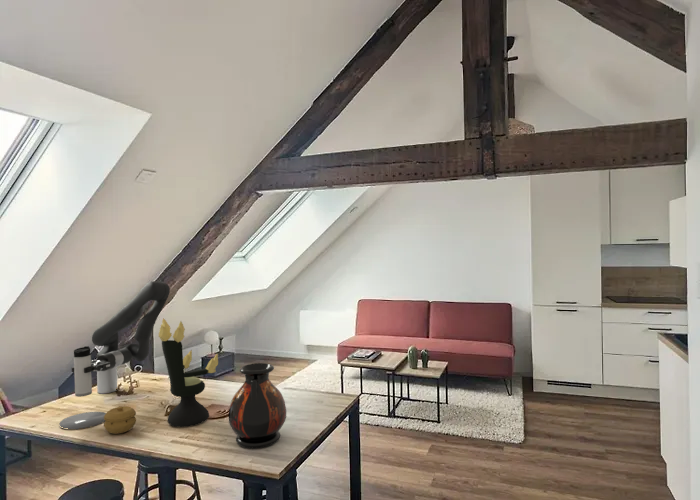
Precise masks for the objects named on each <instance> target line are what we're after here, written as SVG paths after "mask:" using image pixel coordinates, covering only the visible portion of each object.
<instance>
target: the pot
mask: <svg viewBox="0 0 700 500" xmlns="http://www.w3.org/2000/svg"><path fill="white" fill-rule="evenodd" d="M105 413H106V414H105V416H104V420H105V421H104V422H103V423H104V424H103V427H104V428H105V430H106V431H107V432H108V433H110V434H113V435H114V434H115V435H117V434H123V433H126V432H128V431H130V430H131V429H132V428H133V427H134V426H135V424H136V423H137V417H136V415H137V412H136V410H135V408H133V407H131V406H129V405H128V406H125V405H124V406H118V407H113V408H111V409H109V410H108V411H107V412H105Z"/></svg>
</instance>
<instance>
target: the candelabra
mask: <svg viewBox="0 0 700 500" xmlns="http://www.w3.org/2000/svg"><path fill="white" fill-rule="evenodd" d="M161 322H162V323H161V325H160V327H159V332H158V338H159V339H160V341H161V347H162V352H163V357H164V361H165V365H166V369H167V373H168V377H169V383H170V389H169V390H170V393H171V394H172V395H173V396H174V397H179V398H180V401H179V403H178V404H177V405H176V406H175V407H174V408H173V409H172V411H171V410H170V412H169V415H167V421H166V422H167V423H168V425H170V426H171V427H175V428H187V427H188V428H189V427H193V426H197V425H200V424H202V423H205V422H206V421H207V420H208V418H209V417H210V412H209V411H208V410H209V409H207V407H206V406H204V405H203V404H201V402H199V401H197V398H196V395H199V394H201V393H202V392H204V390H205V389H206V384H205V382H204V381H203V380H202V379H201V378H199V376H205V375H208V374H214V373H216V372H217V371H216V369H217V366H218V365H219V358H218V357H219V355H218V353H216V354H215V356H214V357H212V358H211V359H210V360H209V361H208V362H207V365H206V367H205V368H201V369H197V370H196V369H195V370H191V371H186V372H185V370H186V369H189V368H190V365H191V364H190V363H191V362H192V359H193V357H192V355H193V351H192V349H191V350H189V352H188V353H187V354H186V355H185V356H184V357H183V353H184V352H183V343H182V341H183V340H184V338H185V335H184V333H185V330H186V329H185V326H184V324H183V322H182V320H180V322H179V324H178V326H177V327H176V329H175V330H174V333H173V334H172V332H171V326H170V325H169V323H168V322H167V320H166V318H162V321H161ZM171 337H172V338H173V340H171Z"/></svg>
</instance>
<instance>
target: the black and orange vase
mask: <svg viewBox="0 0 700 500" xmlns="http://www.w3.org/2000/svg"><path fill="white" fill-rule="evenodd" d="M274 370H275V367H274V365H272V364H270V363H264V362H261V363H260V362H257V363H248V364H246V365H243V366H241V367H240V368H239V372H240V374H243V375H244V379H245V380H244V382H243V384H242V385H241V386H240V387H239V389H237V391H236V392H235V394H234V395H233V396H232V400H231V402H230V405H229V410H228V415H227V416H228V423H229V426H230V428H231V430H232V431H233V432H234V433H235V434H236V437H235V441H236V444H237V445H238V446H240V447H242V448H245V449H263V448H266V447H269V446H272V445H274V444H276V443H277V442H278V441H279V440H280V438H281V432H280V430H281V429H282V428H283V425H284V424H285V422H286V419H287V407H286V406H287V405H286V402H285V398H284V396H283V394H282V393H281V391H280V390H279V389H278V388H277V386H275V385H274V383H273V382H272V381H271V380H270V377H269V376H270V373H272V372H273V371H274Z"/></svg>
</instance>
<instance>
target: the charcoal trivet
mask: <svg viewBox="0 0 700 500" xmlns="http://www.w3.org/2000/svg"><path fill="white" fill-rule="evenodd" d="M106 413H107V412H104V411H87V412H82V413H77V414H72V415H71V416H68V417H65V418H63V419H62V420H61V421H59V425H60V426H61V427H63V428H68V429H76V430H80V429H79V428H83V429H86V428H85V427H88V428H91V427H90V426H92V427H95V426H98V425H100V424H103V423H105V422H106V421H105V420H104V416H105V414H106ZM102 422H103V423H102ZM60 426H59V427H60Z"/></svg>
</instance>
